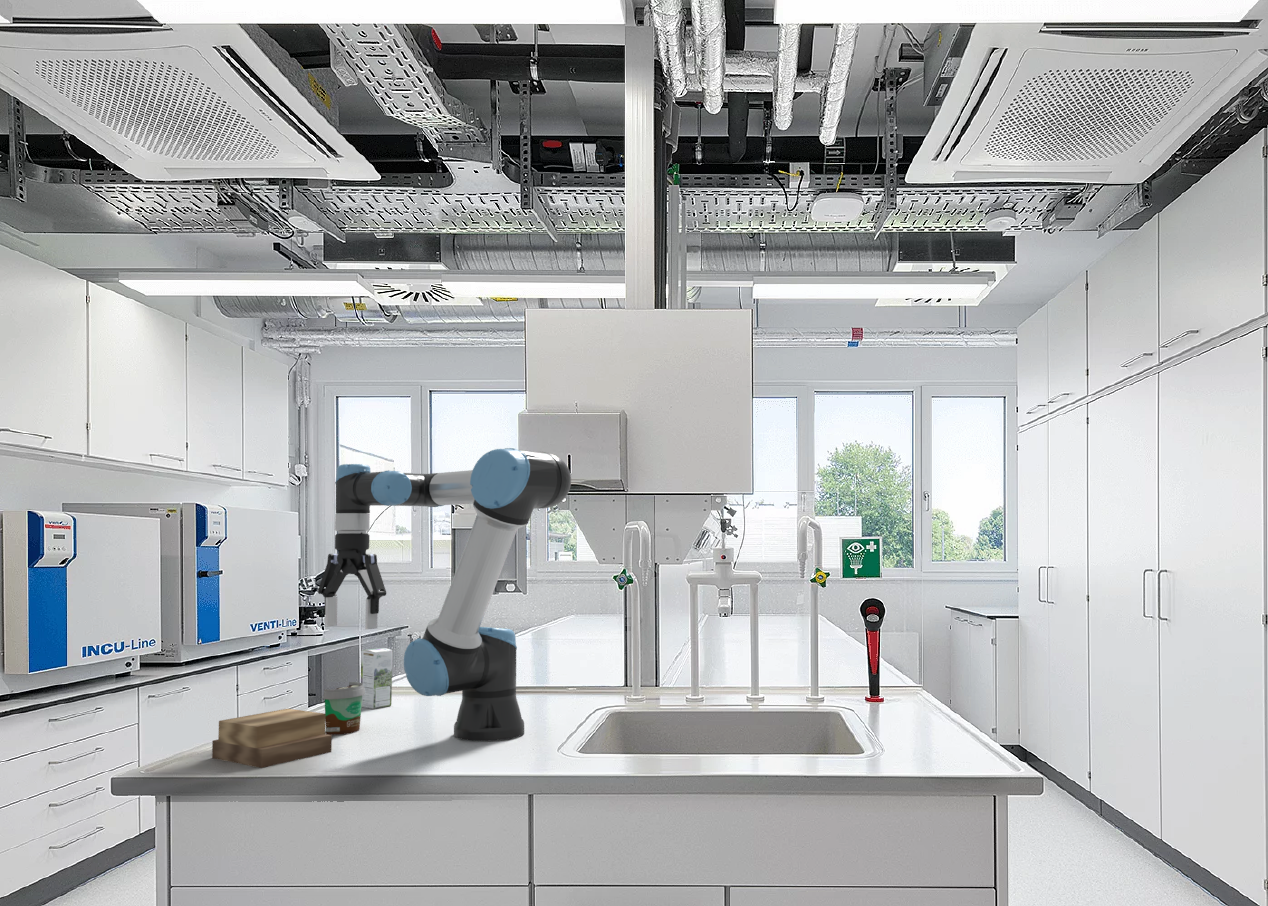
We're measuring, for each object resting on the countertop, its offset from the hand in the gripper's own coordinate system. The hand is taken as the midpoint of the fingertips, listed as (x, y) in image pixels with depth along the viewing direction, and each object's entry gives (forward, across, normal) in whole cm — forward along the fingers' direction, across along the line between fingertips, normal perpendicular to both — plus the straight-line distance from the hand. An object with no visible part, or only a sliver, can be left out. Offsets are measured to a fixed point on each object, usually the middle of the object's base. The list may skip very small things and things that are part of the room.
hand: (350, 627), depth 220 cm
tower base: (+24, -6, +24) cm, 34 cm away
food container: (+23, 0, 0) cm, 23 cm away
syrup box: (+23, +20, -25) cm, 40 cm away
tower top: (+20, -6, +24) cm, 31 cm away
